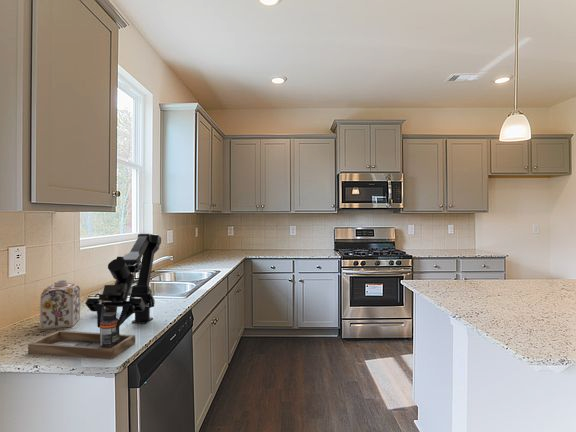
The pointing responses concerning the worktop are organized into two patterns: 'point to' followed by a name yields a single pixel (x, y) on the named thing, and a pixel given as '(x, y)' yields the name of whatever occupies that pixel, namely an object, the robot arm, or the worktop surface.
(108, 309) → the coffee mug
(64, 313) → the decorative jar
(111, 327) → the supplement bottle
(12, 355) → the worktop surface
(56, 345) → the wooden serving tray
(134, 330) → the worktop surface
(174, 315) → the worktop surface
